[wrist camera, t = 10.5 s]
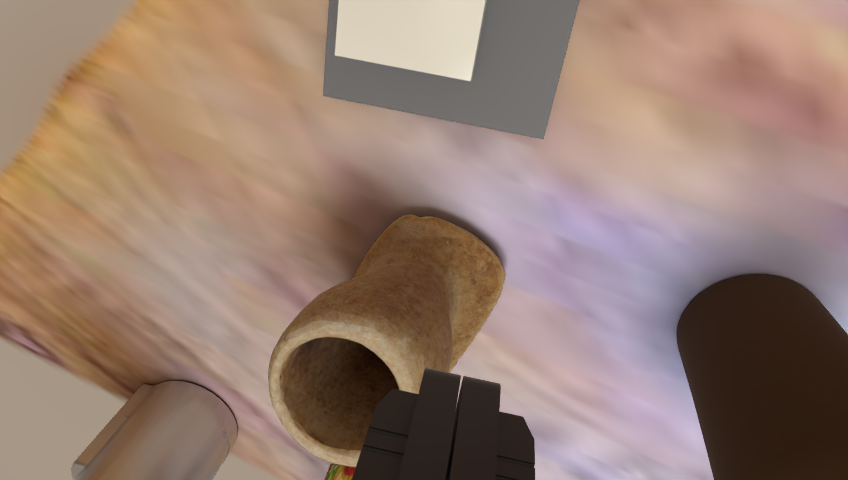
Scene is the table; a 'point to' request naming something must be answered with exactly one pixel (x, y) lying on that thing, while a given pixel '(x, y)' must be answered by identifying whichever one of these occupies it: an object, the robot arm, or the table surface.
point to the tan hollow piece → (381, 332)
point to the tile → (412, 34)
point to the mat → (493, 73)
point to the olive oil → (767, 380)
